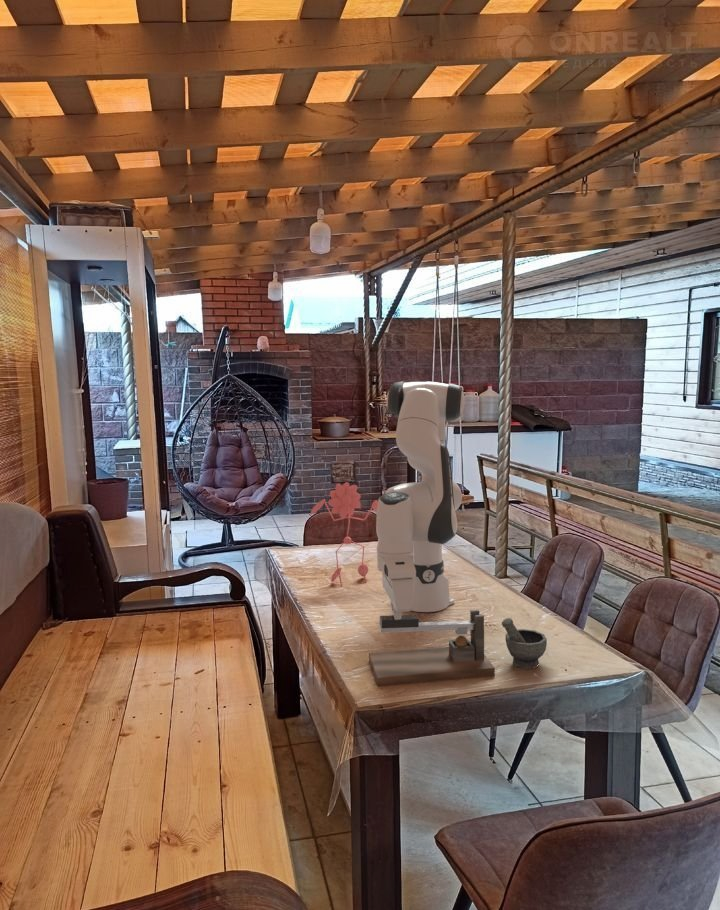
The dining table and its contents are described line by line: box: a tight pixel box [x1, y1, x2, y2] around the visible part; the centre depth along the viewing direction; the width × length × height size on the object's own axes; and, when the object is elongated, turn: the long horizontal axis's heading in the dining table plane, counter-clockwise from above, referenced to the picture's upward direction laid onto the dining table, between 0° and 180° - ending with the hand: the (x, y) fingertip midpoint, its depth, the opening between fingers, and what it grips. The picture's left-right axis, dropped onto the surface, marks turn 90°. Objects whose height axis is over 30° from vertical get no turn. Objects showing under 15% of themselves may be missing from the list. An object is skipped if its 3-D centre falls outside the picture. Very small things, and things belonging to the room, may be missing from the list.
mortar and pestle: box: [501, 617, 548, 670], centre depth 160 cm, size 11×9×12 cm
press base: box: [368, 609, 496, 687], centre depth 159 cm, size 14×28×13 cm, turn 97°
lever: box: [379, 614, 475, 636], centre depth 158 cm, size 3×24×4 cm, turn 97°
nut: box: [454, 635, 468, 647], centre depth 160 cm, size 3×3×3 cm
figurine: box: [309, 481, 379, 587], centre depth 231 cm, size 15×26×35 cm, turn 112°
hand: (396, 617), depth 157 cm, fingers closed, pressing on lever
